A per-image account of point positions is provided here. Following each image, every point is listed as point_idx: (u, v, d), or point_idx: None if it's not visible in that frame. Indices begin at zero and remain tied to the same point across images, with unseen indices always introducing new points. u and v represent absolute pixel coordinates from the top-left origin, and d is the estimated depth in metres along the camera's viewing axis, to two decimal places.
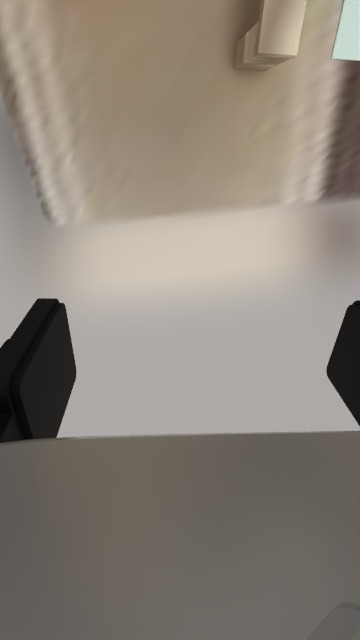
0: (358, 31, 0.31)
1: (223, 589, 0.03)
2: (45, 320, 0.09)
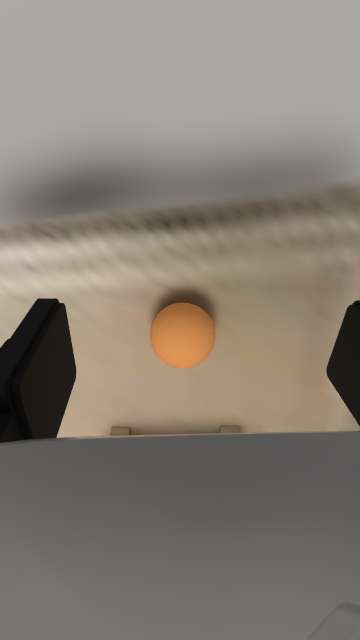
0: None
1: (223, 589, 0.03)
2: (45, 320, 0.09)
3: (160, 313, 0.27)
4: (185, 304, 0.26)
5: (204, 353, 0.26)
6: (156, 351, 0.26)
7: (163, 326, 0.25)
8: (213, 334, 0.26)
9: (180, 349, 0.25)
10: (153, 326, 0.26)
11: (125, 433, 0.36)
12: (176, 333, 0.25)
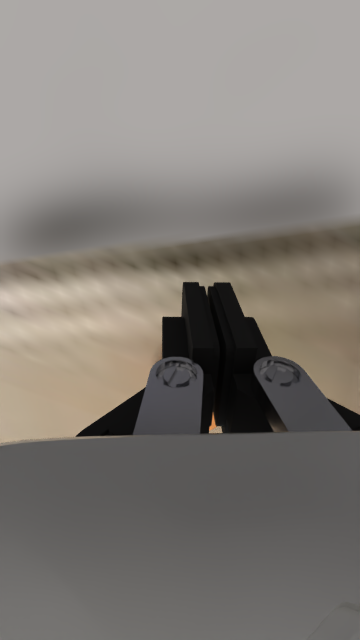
0: None
1: (223, 590, 0.03)
2: None
3: None
4: None
5: None
6: None
7: None
8: None
9: None
10: None
11: None
12: None
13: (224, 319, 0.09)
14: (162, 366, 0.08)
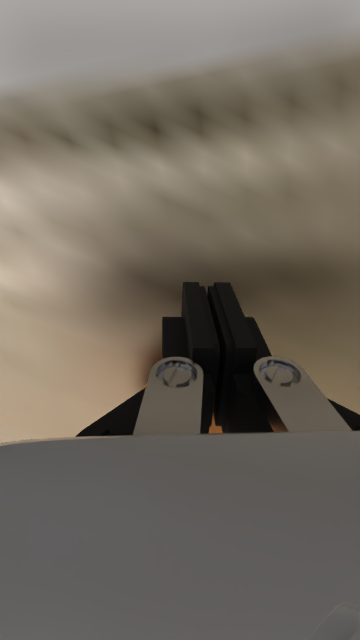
0: None
1: (223, 589, 0.03)
2: None
3: None
4: None
5: None
6: None
7: None
8: None
9: None
10: None
11: None
12: None
13: (224, 319, 0.09)
14: (162, 366, 0.08)
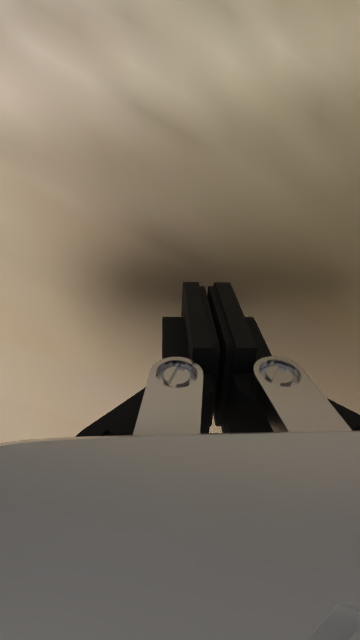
0: None
1: (223, 589, 0.03)
2: None
3: None
4: None
5: None
6: None
7: None
8: None
9: None
10: None
11: None
12: None
13: (224, 319, 0.09)
14: (162, 366, 0.08)
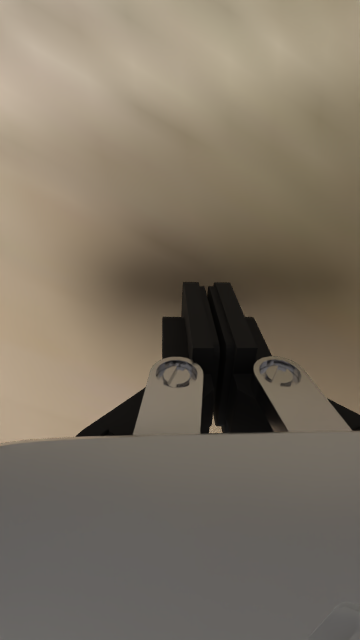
0: None
1: (223, 589, 0.03)
2: None
3: None
4: None
5: None
6: None
7: None
8: None
9: None
10: None
11: None
12: None
13: (224, 319, 0.09)
14: (162, 366, 0.08)
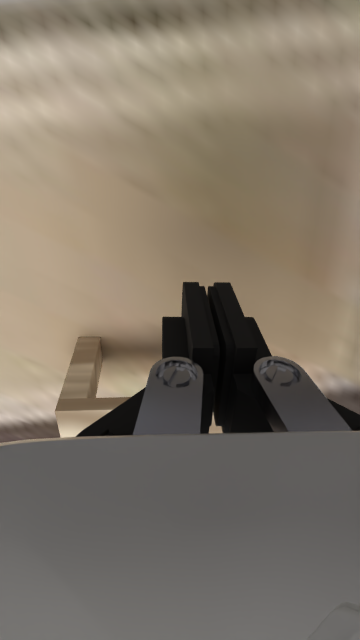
0: None
1: (223, 589, 0.03)
2: None
3: None
4: None
5: None
6: None
7: None
8: None
9: None
10: None
11: (95, 342, 0.30)
12: None
13: (224, 319, 0.09)
14: (162, 366, 0.08)
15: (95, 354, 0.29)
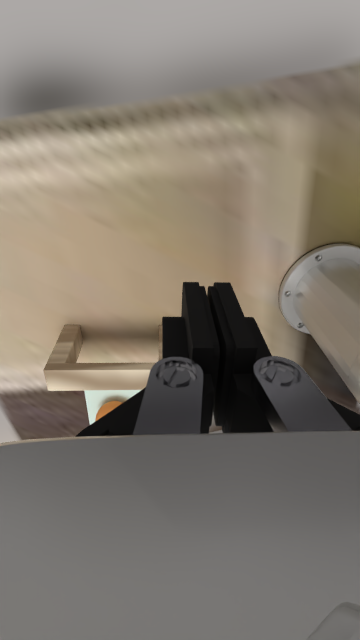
0: None
1: (223, 589, 0.03)
2: None
3: None
4: None
5: None
6: (98, 411, 0.48)
7: None
8: None
9: (112, 401, 0.49)
10: None
11: (75, 328, 0.43)
12: None
13: (224, 319, 0.09)
14: (162, 366, 0.08)
15: (75, 336, 0.41)
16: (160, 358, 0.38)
